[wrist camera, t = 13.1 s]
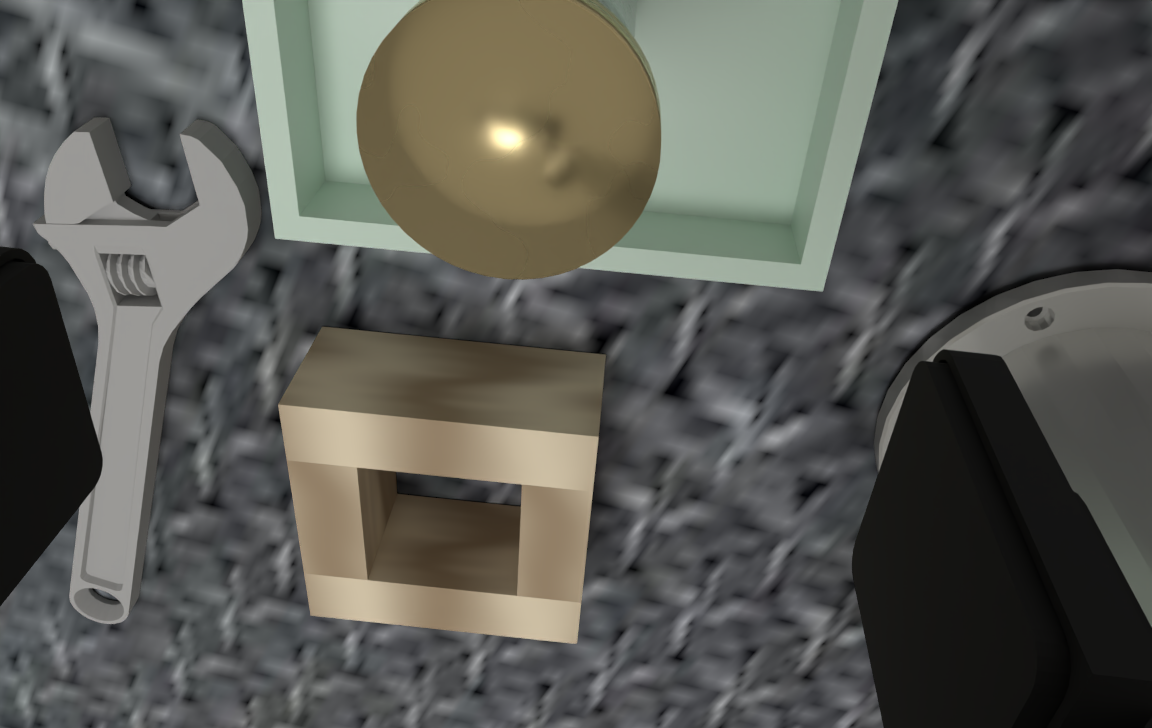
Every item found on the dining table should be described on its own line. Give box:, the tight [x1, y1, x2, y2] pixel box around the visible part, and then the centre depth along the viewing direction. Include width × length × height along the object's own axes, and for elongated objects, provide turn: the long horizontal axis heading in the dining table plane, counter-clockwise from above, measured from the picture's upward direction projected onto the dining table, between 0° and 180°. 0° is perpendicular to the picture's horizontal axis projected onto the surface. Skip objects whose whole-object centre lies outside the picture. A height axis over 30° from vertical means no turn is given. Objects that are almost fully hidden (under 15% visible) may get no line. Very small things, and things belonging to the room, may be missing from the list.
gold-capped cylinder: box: [356, 0, 661, 280], centre depth 20 cm, size 5×5×11 cm
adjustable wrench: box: [33, 117, 262, 624], centre depth 34 cm, size 25×6×2 cm, turn 154°
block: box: [278, 327, 606, 644], centre depth 33 cm, size 10×10×4 cm
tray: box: [242, 0, 898, 291], centre depth 24 cm, size 16×14×3 cm
